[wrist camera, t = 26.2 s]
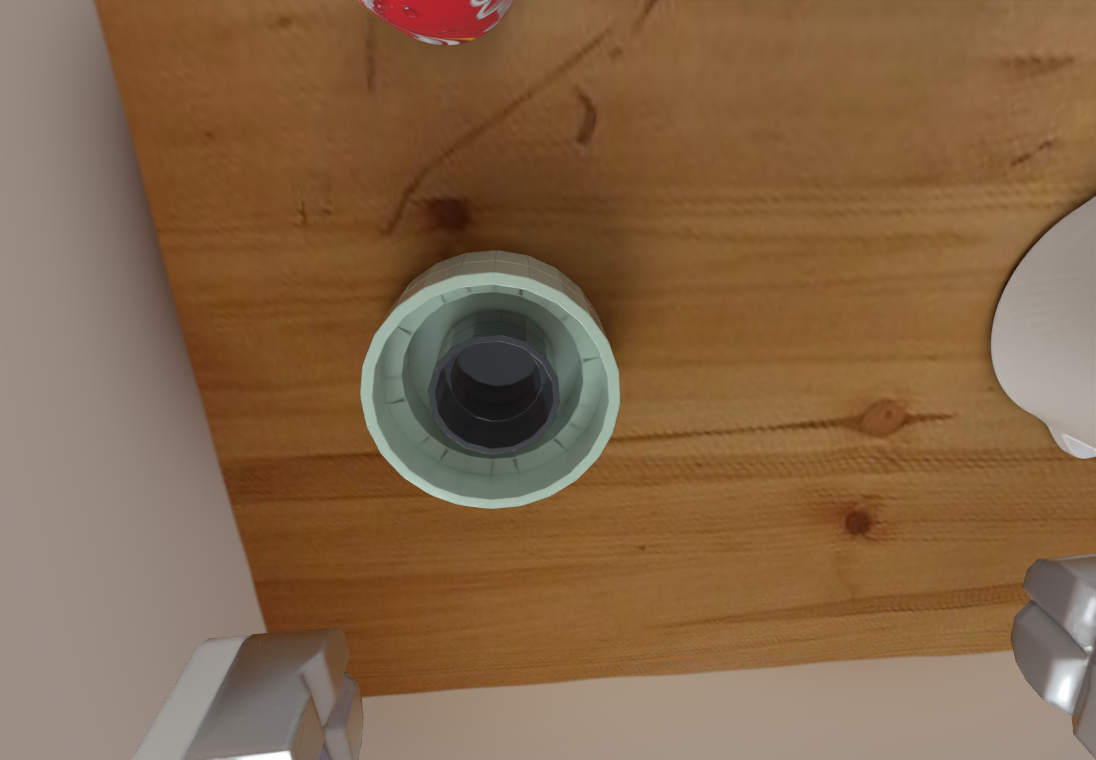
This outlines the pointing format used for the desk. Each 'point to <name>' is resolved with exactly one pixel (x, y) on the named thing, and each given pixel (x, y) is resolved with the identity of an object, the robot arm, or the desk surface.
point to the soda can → (440, 18)
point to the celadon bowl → (410, 356)
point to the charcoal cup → (495, 383)
